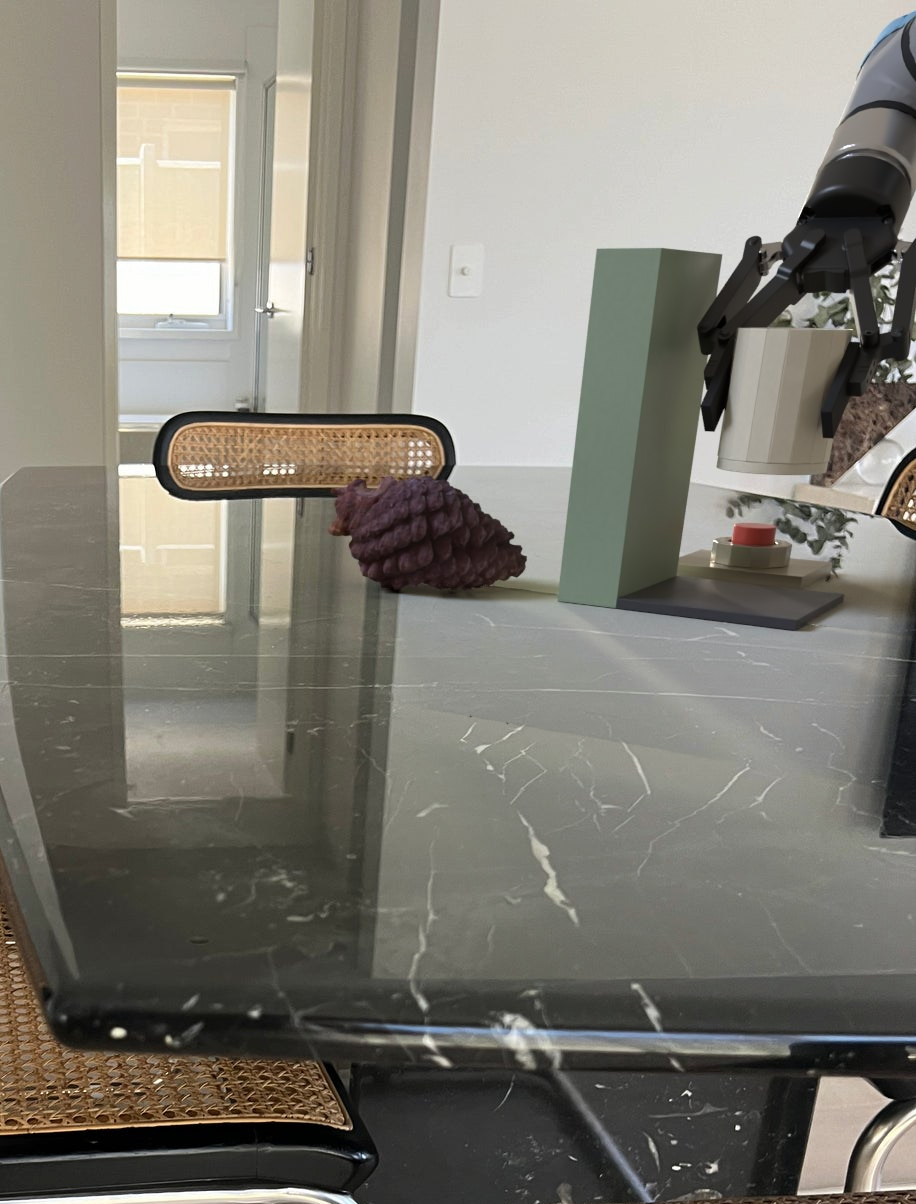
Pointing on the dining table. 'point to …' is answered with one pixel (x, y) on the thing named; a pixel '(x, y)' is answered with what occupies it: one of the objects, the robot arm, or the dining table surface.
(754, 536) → the button
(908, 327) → the robot arm
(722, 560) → the block
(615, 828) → the dining table surface
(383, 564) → the pine cone
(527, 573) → the dining table surface
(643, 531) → the coffee machine
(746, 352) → the cup
